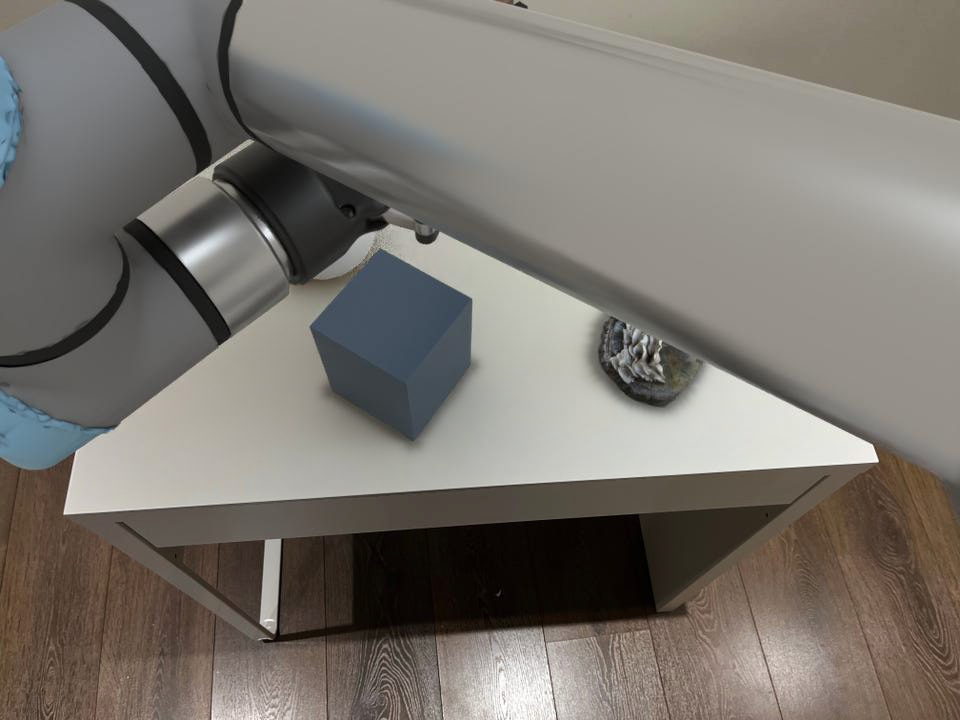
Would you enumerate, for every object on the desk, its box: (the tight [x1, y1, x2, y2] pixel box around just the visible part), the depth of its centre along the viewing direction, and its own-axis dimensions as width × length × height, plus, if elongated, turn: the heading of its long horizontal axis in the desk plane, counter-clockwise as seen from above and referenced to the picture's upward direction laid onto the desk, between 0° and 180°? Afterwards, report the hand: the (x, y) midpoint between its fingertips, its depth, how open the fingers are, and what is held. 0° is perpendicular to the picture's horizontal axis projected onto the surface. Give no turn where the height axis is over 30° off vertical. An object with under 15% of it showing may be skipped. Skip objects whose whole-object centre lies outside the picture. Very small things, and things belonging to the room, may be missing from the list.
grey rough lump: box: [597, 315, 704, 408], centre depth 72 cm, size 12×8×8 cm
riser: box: [309, 247, 474, 441], centre depth 65 cm, size 10×10×12 cm
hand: (542, 35), depth 46 cm, fingers closed on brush, 3 cm apart
